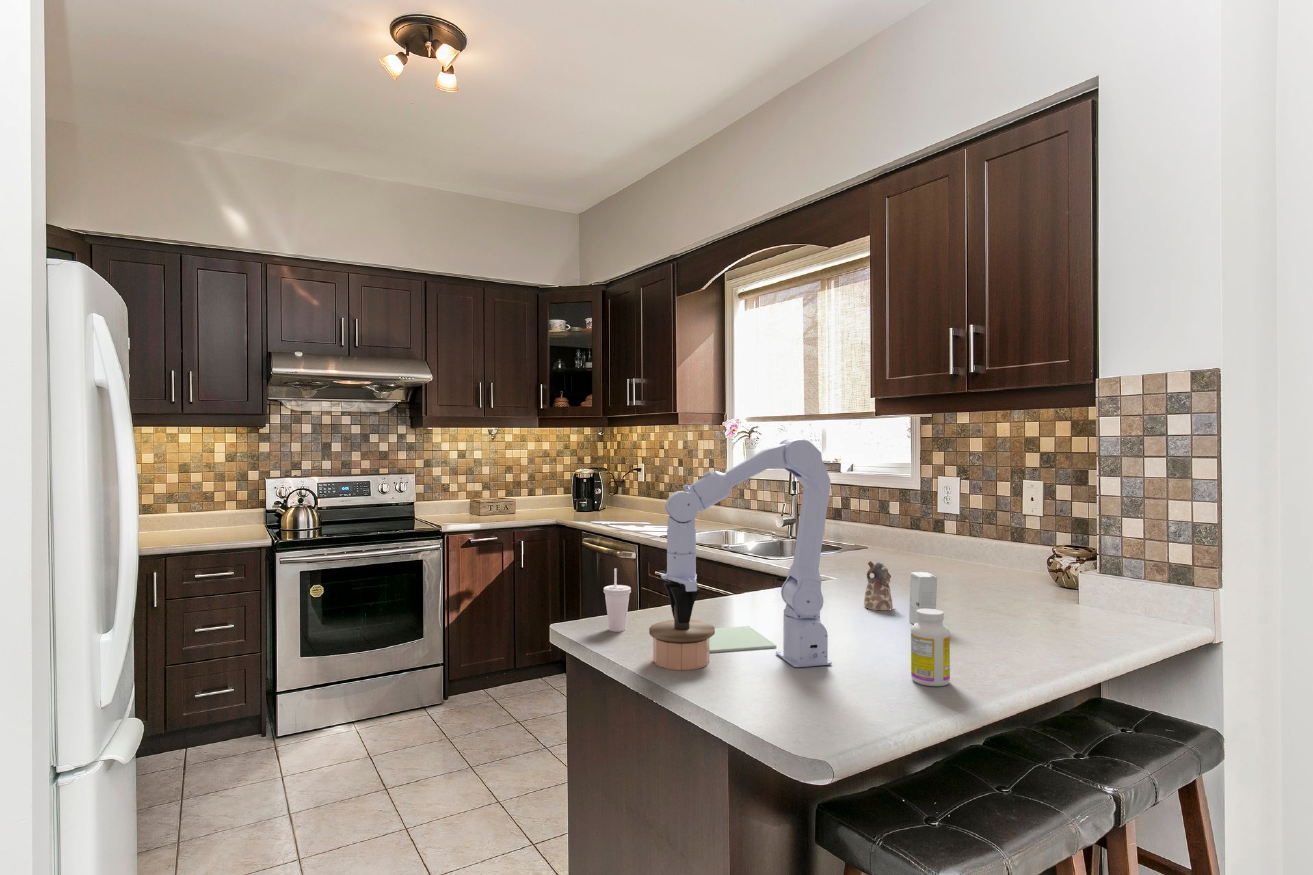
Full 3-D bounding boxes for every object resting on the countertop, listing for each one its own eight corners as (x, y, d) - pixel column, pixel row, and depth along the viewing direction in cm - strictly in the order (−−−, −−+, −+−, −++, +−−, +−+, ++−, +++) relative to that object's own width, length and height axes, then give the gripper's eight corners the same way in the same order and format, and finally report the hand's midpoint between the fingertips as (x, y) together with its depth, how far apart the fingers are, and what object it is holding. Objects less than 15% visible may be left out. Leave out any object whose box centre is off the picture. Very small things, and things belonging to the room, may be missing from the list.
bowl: (715, 667, 141) (715, 641, 141) (661, 671, 138) (661, 645, 138) (699, 651, 151) (699, 627, 151) (648, 654, 149) (648, 630, 148)
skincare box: (908, 621, 175) (908, 571, 175) (926, 621, 175) (926, 571, 175) (918, 628, 169) (918, 576, 169) (937, 628, 169) (937, 576, 169)
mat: (776, 647, 154) (776, 645, 154) (704, 653, 150) (704, 650, 150) (749, 628, 169) (749, 625, 169) (682, 632, 165) (682, 630, 165)
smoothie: (616, 624, 172) (616, 565, 172) (636, 629, 168) (636, 568, 168) (597, 629, 167) (597, 569, 167) (618, 634, 163) (618, 572, 163)
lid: (725, 637, 140) (724, 610, 140) (661, 645, 136) (660, 616, 136) (700, 620, 153) (699, 595, 153) (641, 627, 149) (640, 601, 149)
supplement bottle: (940, 675, 136) (940, 606, 136) (956, 687, 130) (956, 615, 130) (905, 675, 136) (905, 606, 136) (919, 687, 130) (919, 615, 129)
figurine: (886, 612, 184) (887, 565, 184) (859, 608, 189) (860, 562, 189) (896, 607, 190) (896, 561, 190) (870, 603, 194) (870, 558, 194)
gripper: (653, 547, 151) (653, 612, 151) (671, 558, 136) (671, 631, 137) (686, 545, 152) (686, 610, 152) (707, 557, 138) (707, 628, 138)
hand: (681, 620), depth 145 cm, fingers closed on lid, 3 cm apart
